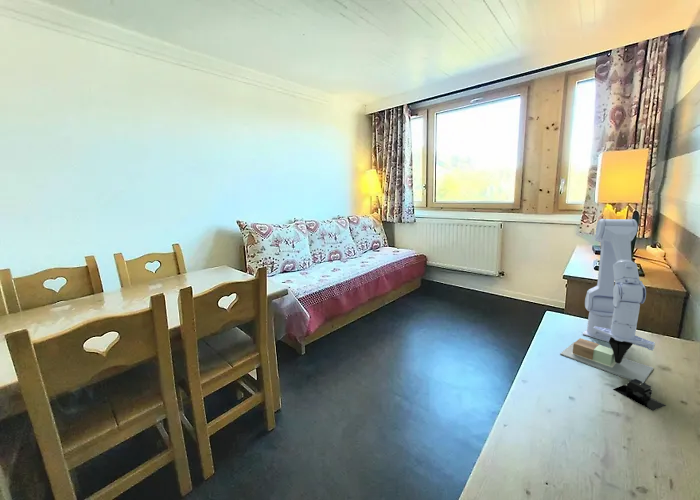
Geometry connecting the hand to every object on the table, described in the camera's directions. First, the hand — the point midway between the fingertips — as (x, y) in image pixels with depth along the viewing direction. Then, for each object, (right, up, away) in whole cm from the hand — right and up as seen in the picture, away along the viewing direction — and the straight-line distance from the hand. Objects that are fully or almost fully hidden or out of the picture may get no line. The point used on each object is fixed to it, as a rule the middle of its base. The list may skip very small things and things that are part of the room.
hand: (618, 361), depth 99 cm
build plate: (-2, -1, +3) cm, 4 cm away
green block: (-2, 0, +3) cm, 4 cm away
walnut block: (-5, 0, +7) cm, 9 cm away
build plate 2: (-6, -5, -13) cm, 16 cm away
